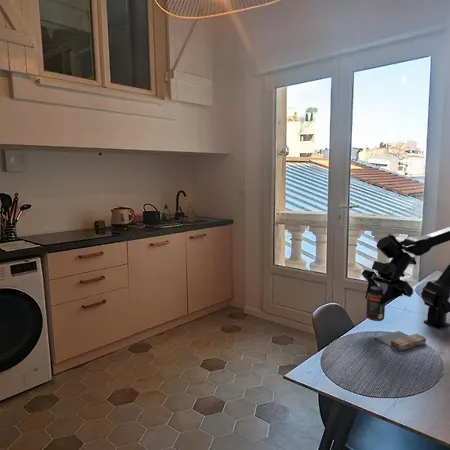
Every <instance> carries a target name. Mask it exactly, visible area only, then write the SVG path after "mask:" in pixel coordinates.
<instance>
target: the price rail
mask: <svg viewBox="0 0 450 450" xmlns="http://www.w3.org/2000/svg"><path fill="white" fill-rule="evenodd" d="M426 342H427V337H424V336H422V335H420V334H418V333H414V334H410V335H409V336H406V337H403V338H399V339H396V340H392V341H391V347H390V348H392V347H393V348H392V349H394V348H395V349H394V350H396V349H397V350H396V351H398V350H399V351H398V352H401V351H404V350H408V349H411V348H414V347H418V346H421V345H424V344H426Z"/></svg>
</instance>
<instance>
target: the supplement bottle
mask: <svg viewBox="0 0 450 450" xmlns="http://www.w3.org/2000/svg"><path fill="white" fill-rule="evenodd" d="M378 286H379V285H378ZM378 286H372V287H371V289H370V291H371V292H369V293H368V294H367V299H366V311H365V313H366V314H365V315H366V316H365V317H366V318H367V319H368V320H369V321H372V322H373V321H374V322H382V321H384V319H385V313H386V309H385V308H386V303H384V304H382V305H380V304H379V302H380V300H381V298H382V297H383V295H384V294H385V293H384V288H383V287H381V286H379V287H378Z"/></svg>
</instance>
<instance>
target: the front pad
mask: <svg viewBox="0 0 450 450" xmlns="http://www.w3.org/2000/svg"><path fill="white" fill-rule="evenodd" d="M406 336H410V335H408V334H407V333H404V332H402V331H400V330H398V331H394V332H390V333H386V334H383V335H379V336H375V337H374V338H376V339H378V340H379V341H378V340H377V341H378V342H380V341H381V342H380V343H382V342H383V343H382V344H384V343H385V344H384V345H386V344H387V345H386V346H388V345H389V346H388V347H390V346H391V341H392V340H396V339H399V338H403V337H406ZM376 339H375V340H376Z"/></svg>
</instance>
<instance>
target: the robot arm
mask: <svg viewBox="0 0 450 450" xmlns="http://www.w3.org/2000/svg"><path fill="white" fill-rule="evenodd" d="M446 242H447V243H448V242H450V226H448V227H445V228H443V229H439V230H436V231H435V232H431V233H428V234H425V235H414V236H408V237H405V238H404V240H400V241H399V240H397V238H396V237H395V236H394V234H389V233H388V235H386V236H384V237H382V238H380V239H379V240H378V241H377V243H376V248H377V249H378V250H379V251H380V252H381V253H382V254H383V255H384V256H385V257H386V258H387V259H391V260H390V261H389V262H385V263H384V262H380V261H377V260H374V261H373V264H372V267H371V269H368V268H366V269H364V270H363V271H362V272H361V276H362V277H363V278H364V279H365V280H366V281H367V289H366V293H365V296H364V298H365V300H367V294H368V293H369V292H371V291H370V289H371V287H372V286H378V287H380V286H379V285H378V284H379V283H380V284H383V285H386V286H387V289H386V291H385V292H384V293H383V294H384V295H383V297H382V298H381V300H380V302H379V304H380V305H382V304H384V303H385V304H386V303H388V302H389V301H391V300H394V299H396V298H398V297H403V296H405V297H408V298H411V297H412V295H413V294H414V288H413V287H412V286H411V285H410V283H409V282H408V281H406V280H403V279H400V278H401V277H402V278H404V277H405V275H406V274H405V271H406V270H407V269H408V267H409V265H415V266H416V265H417V261H416V257H415V256H417V257H421V256H423V255H425V254H427V253H429V252H430V251H431V249H432V248H434V247H436V246H439V245H441V244H443V243H446ZM412 255H413V256H412ZM375 271H376V273H375ZM378 275H379V276H378ZM421 290H422V291H421V294H420V295H421V299H422V301H423V302H424V305H425V306H427V307H428V308H427V318H426V319H425V320H423V323H424V324H427V325H429V326H432V327H435V328H437V329H441V328H446V327H448V326H450V323H449V322H447V316H448V314H449V313H450V301H449V299H450V263H449V264H448V265H447V266H446V268H445V269H444V270H443V272H442V273H441V275H440V276H439V277H438V279H436V280H435V281H430V280H428V281H427V283H426V285H425V286H424V287H423V288H422V289H421Z"/></svg>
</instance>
